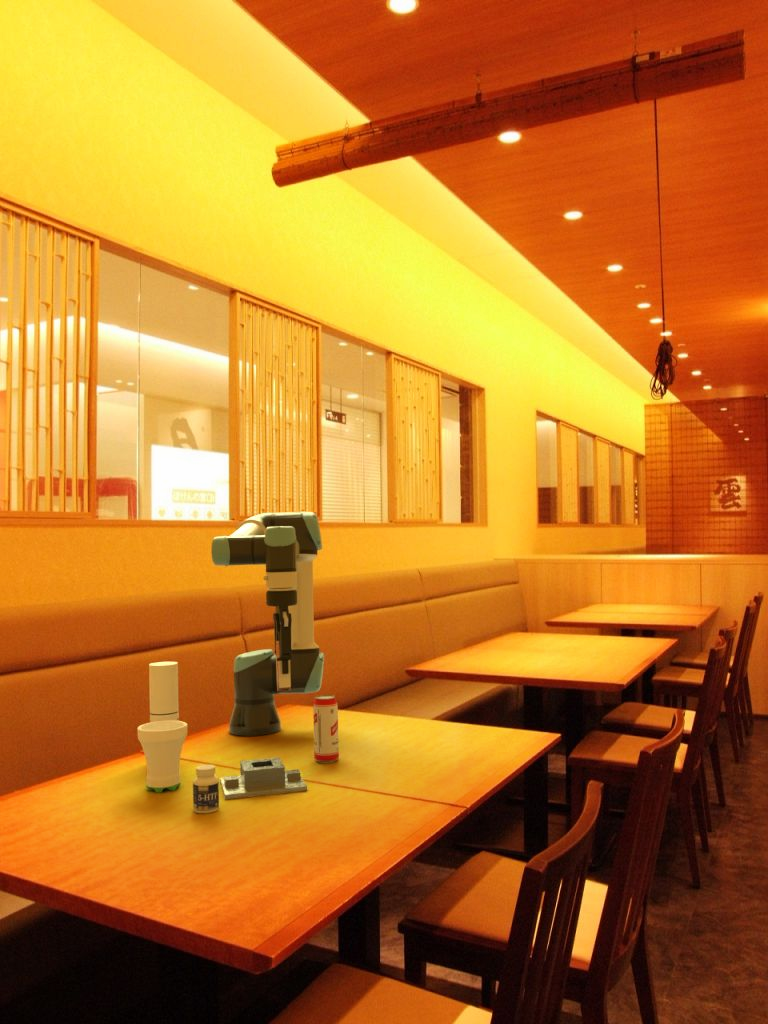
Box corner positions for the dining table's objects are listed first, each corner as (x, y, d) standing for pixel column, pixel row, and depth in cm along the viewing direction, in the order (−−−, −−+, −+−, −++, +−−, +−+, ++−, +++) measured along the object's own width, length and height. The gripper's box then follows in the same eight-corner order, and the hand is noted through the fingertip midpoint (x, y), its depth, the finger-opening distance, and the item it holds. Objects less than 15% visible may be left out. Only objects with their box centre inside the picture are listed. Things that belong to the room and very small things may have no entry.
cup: (166, 778, 198) (165, 718, 199) (199, 785, 192) (197, 723, 192) (127, 790, 189) (126, 727, 190) (160, 798, 183) (158, 733, 183)
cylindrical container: (144, 763, 212) (143, 665, 213) (162, 756, 219) (160, 661, 220) (168, 766, 210) (166, 666, 210) (185, 758, 216) (183, 662, 217)
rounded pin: (276, 689, 204) (275, 640, 204) (289, 688, 205) (288, 639, 205) (278, 691, 201) (277, 641, 201) (291, 690, 202) (290, 641, 202)
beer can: (340, 757, 214) (339, 694, 214) (337, 763, 207) (335, 699, 208) (316, 757, 214) (315, 694, 215) (312, 763, 208) (310, 699, 209)
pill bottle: (197, 815, 170) (196, 771, 171) (190, 808, 175) (189, 766, 175) (222, 811, 173) (221, 767, 173) (215, 804, 178) (214, 762, 178)
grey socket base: (220, 781, 194) (219, 760, 194) (296, 774, 199) (296, 753, 199) (225, 799, 181) (224, 776, 181) (307, 790, 186) (306, 767, 186)
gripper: (261, 588, 211) (264, 681, 210) (270, 591, 195) (272, 692, 194) (291, 587, 213) (293, 679, 212) (302, 590, 197) (304, 690, 196)
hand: (283, 685), depth 203 cm, fingers closed on rounded pin, 3 cm apart
